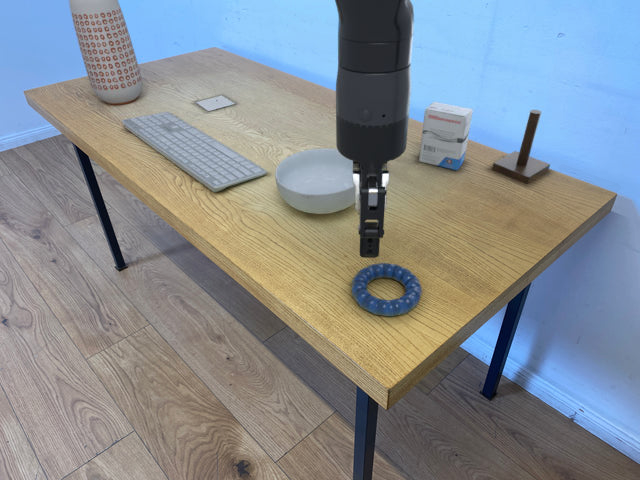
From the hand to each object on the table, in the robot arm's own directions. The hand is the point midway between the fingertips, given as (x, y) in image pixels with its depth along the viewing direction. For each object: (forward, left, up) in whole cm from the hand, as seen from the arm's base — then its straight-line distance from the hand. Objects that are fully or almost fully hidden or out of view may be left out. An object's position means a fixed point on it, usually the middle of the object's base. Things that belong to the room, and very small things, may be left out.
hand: (367, 234), depth 58 cm
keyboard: (+62, -5, -14) cm, 64 cm away
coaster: (+82, -24, -14) cm, 87 cm away
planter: (+103, -6, -14) cm, 104 cm away
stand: (+7, -52, -14) cm, 54 cm away
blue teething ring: (0, -5, -12) cm, 13 cm away
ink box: (+20, -43, -14) cm, 49 cm away
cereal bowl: (+25, -14, -14) cm, 32 cm away
